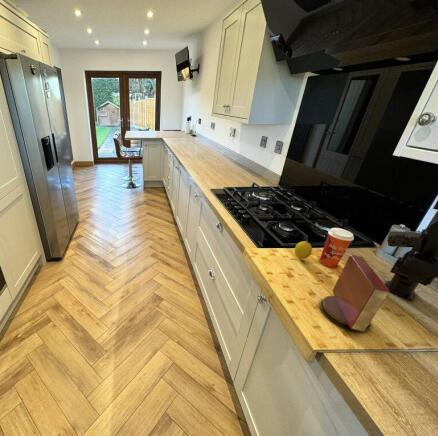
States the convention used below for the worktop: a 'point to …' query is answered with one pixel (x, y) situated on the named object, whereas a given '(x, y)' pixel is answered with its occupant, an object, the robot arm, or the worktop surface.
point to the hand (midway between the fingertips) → (410, 280)
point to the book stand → (356, 295)
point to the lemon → (303, 250)
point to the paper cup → (335, 246)
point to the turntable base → (337, 321)
